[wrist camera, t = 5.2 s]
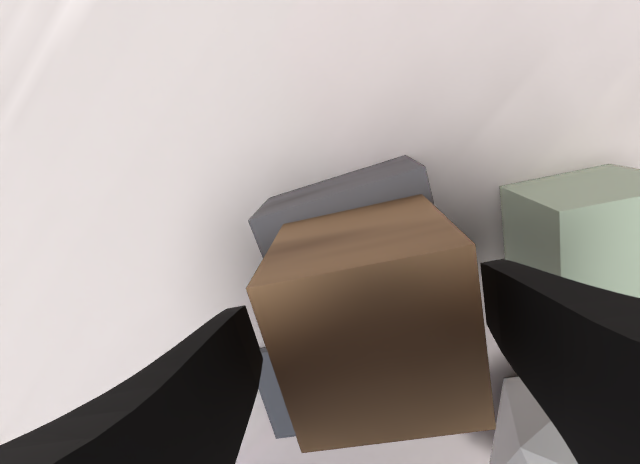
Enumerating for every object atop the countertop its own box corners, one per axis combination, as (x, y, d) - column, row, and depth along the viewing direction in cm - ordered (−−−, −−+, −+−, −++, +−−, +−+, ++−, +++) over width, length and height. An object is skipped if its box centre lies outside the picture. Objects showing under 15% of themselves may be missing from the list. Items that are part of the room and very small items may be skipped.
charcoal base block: (435, 280, 17) (462, 326, 13) (313, 311, 18) (305, 362, 14) (404, 154, 15) (425, 166, 11) (270, 196, 16) (248, 220, 12)
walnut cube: (441, 318, 13) (496, 429, 8) (316, 339, 14) (302, 453, 9) (421, 193, 12) (474, 244, 7) (282, 224, 12) (245, 288, 8)
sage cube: (605, 258, 16) (700, 308, 12) (505, 275, 17) (561, 329, 12) (607, 163, 15) (715, 181, 10) (498, 186, 15) (559, 211, 11)
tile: (376, 420, 20) (377, 427, 19) (277, 432, 21) (275, 440, 20) (356, 332, 18) (356, 338, 18) (248, 350, 19) (246, 356, 18)
